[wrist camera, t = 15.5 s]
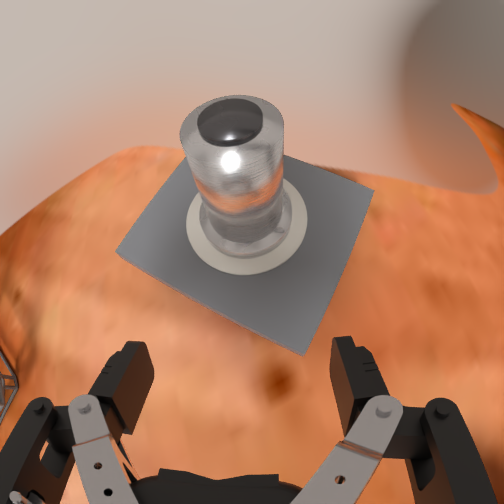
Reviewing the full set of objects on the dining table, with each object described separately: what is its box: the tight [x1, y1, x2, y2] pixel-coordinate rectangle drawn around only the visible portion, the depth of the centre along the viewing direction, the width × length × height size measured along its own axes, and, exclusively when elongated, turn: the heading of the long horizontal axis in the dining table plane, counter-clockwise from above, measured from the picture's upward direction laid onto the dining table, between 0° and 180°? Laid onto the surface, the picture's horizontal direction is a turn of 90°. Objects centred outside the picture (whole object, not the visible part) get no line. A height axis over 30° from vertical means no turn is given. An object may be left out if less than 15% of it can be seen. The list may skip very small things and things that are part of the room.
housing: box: [180, 95, 292, 259], centre depth 18 cm, size 7×7×10 cm
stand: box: [115, 155, 374, 356], centre depth 24 cm, size 16×14×4 cm
